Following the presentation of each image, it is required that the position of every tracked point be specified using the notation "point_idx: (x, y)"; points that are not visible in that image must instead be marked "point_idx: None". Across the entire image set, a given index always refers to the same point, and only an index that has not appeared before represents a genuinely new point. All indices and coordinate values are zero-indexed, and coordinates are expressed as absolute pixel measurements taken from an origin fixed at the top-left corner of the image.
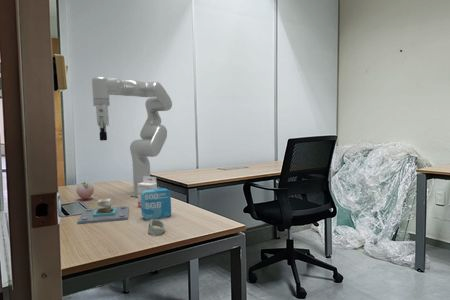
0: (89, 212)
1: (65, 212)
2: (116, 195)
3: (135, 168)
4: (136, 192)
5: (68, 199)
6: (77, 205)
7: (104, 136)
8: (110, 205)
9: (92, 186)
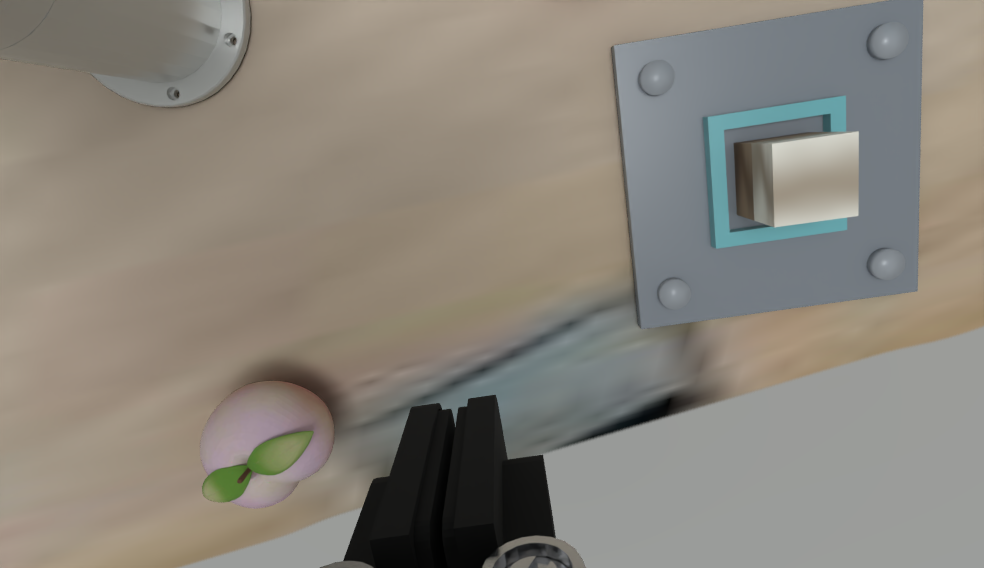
0: (718, 279)
1: (621, 429)
2: (166, 227)
3: (49, 3)
4: (204, 48)
5: (272, 516)
6: (453, 414)
7: (547, 486)
8: (800, 136)
9: (244, 404)
